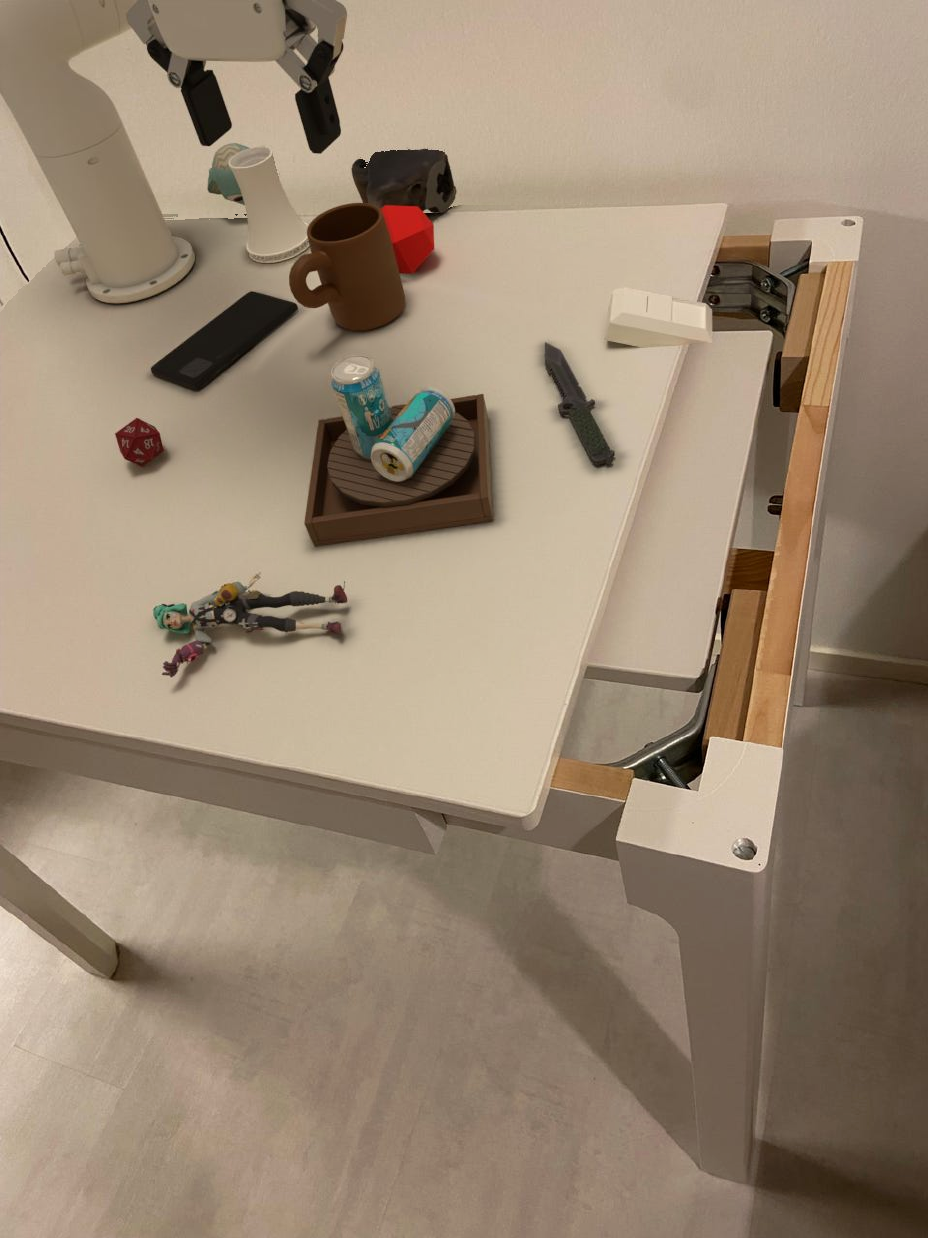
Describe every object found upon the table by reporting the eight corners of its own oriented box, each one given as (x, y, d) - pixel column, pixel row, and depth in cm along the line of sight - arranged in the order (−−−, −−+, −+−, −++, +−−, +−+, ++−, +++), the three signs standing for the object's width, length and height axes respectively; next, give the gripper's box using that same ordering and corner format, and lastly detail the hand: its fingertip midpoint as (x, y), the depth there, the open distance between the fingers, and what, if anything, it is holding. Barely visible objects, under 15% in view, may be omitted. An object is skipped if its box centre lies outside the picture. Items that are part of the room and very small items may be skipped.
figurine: (140, 678, 65) (165, 696, 68) (342, 616, 64) (358, 638, 67) (135, 590, 68) (159, 611, 72) (327, 530, 67) (342, 554, 70)
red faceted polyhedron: (452, 268, 99) (384, 297, 101) (432, 206, 99) (364, 237, 101) (436, 247, 92) (362, 279, 94) (414, 181, 92) (341, 214, 94)
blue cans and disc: (377, 396, 80) (353, 314, 75) (502, 420, 75) (486, 334, 69) (299, 488, 74) (266, 407, 68) (429, 521, 69) (405, 436, 63)
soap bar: (608, 307, 86) (615, 281, 83) (705, 326, 86) (715, 301, 83) (604, 339, 83) (612, 314, 80) (705, 359, 83) (715, 334, 80)
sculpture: (351, 250, 96) (272, 222, 102) (368, 296, 101) (292, 267, 106) (471, 129, 102) (390, 109, 108) (481, 178, 107) (404, 156, 113)
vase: (322, 226, 108) (294, 137, 101) (300, 261, 104) (270, 171, 96) (263, 229, 110) (231, 143, 103) (239, 264, 106) (205, 176, 98)
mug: (344, 366, 89) (314, 275, 82) (288, 348, 93) (255, 260, 86) (422, 298, 94) (400, 207, 87) (366, 284, 98) (341, 195, 91)
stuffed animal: (242, 240, 121) (199, 220, 109) (222, 185, 120) (177, 158, 108) (317, 208, 118) (281, 183, 107) (297, 150, 117) (259, 119, 106)
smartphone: (251, 294, 101) (149, 374, 94) (248, 287, 100) (146, 367, 93) (301, 308, 97) (199, 392, 90) (298, 300, 96) (196, 385, 90)
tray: (313, 546, 74) (304, 523, 72) (326, 442, 82) (318, 419, 80) (493, 521, 72) (487, 496, 70) (488, 417, 80) (483, 393, 78)
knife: (625, 453, 73) (587, 464, 73) (625, 462, 73) (588, 472, 73) (558, 333, 85) (526, 342, 85) (559, 341, 85) (528, 350, 85)
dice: (118, 472, 85) (97, 438, 82) (148, 440, 87) (129, 405, 84) (150, 479, 83) (130, 444, 80) (180, 447, 85) (161, 411, 82)
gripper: (332, -194, 53) (399, 121, 66) (106, -169, 60) (207, 111, 73) (258, -151, 49) (345, 174, 62) (25, -130, 56) (147, 159, 69)
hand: (270, 140), depth 67 cm, fingers open, 9 cm apart
